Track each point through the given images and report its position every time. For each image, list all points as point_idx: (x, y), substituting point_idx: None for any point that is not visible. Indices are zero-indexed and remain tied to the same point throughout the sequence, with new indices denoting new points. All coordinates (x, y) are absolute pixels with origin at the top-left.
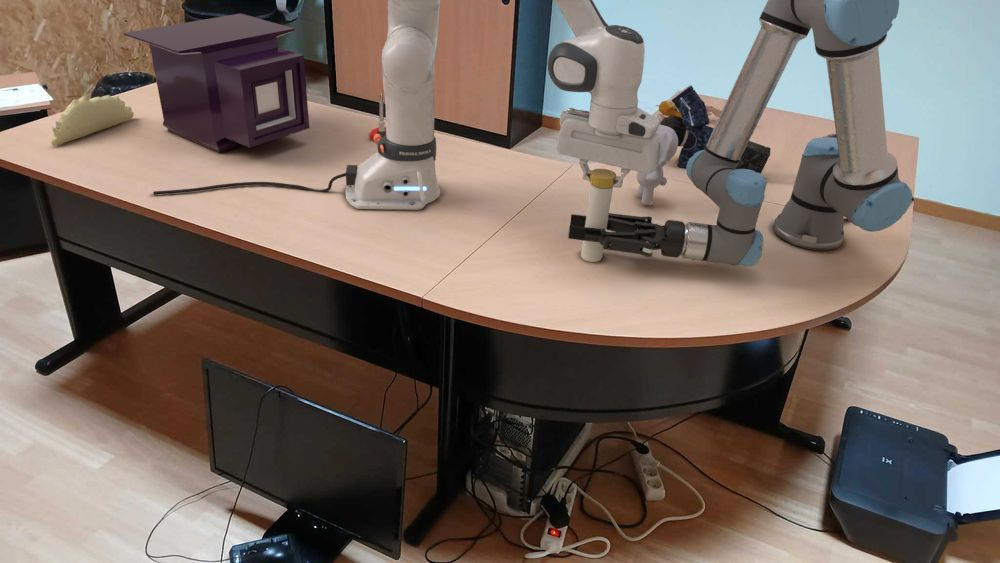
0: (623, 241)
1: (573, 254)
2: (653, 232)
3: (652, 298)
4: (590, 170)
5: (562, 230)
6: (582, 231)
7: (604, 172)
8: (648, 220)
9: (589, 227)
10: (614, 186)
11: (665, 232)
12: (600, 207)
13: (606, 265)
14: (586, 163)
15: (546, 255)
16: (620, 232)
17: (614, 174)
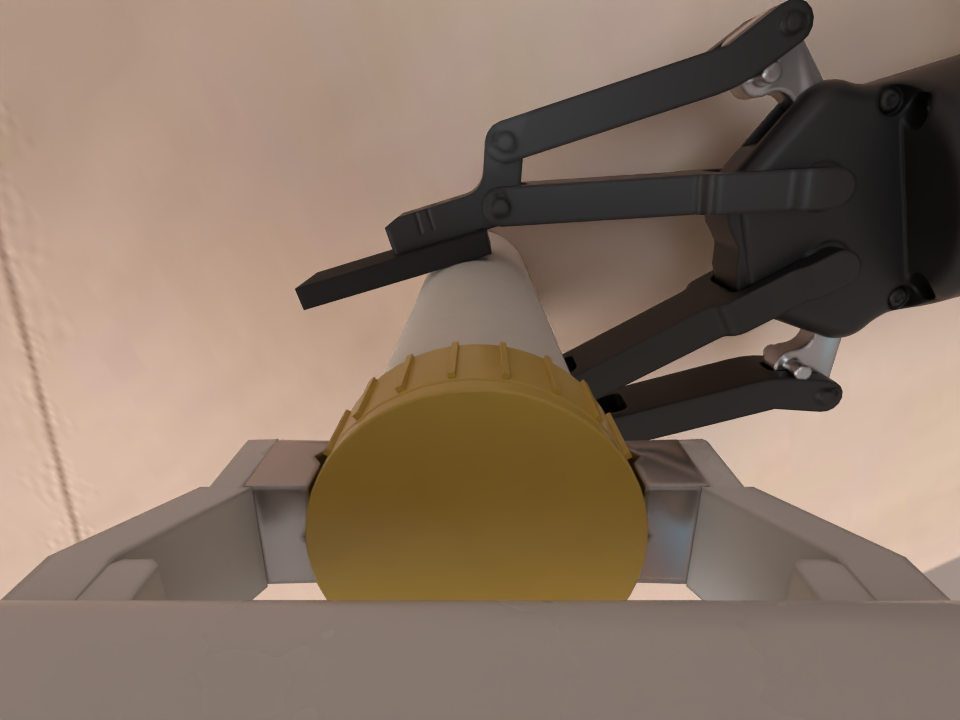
0: (673, 432)
1: (400, 298)
2: (844, 286)
3: (777, 451)
4: (277, 504)
5: (247, 88)
6: None
7: (473, 508)
8: (783, 51)
9: None
10: None
11: (924, 248)
12: None
13: (559, 313)
14: (161, 561)
15: (306, 365)
16: (638, 350)
17: (617, 502)
